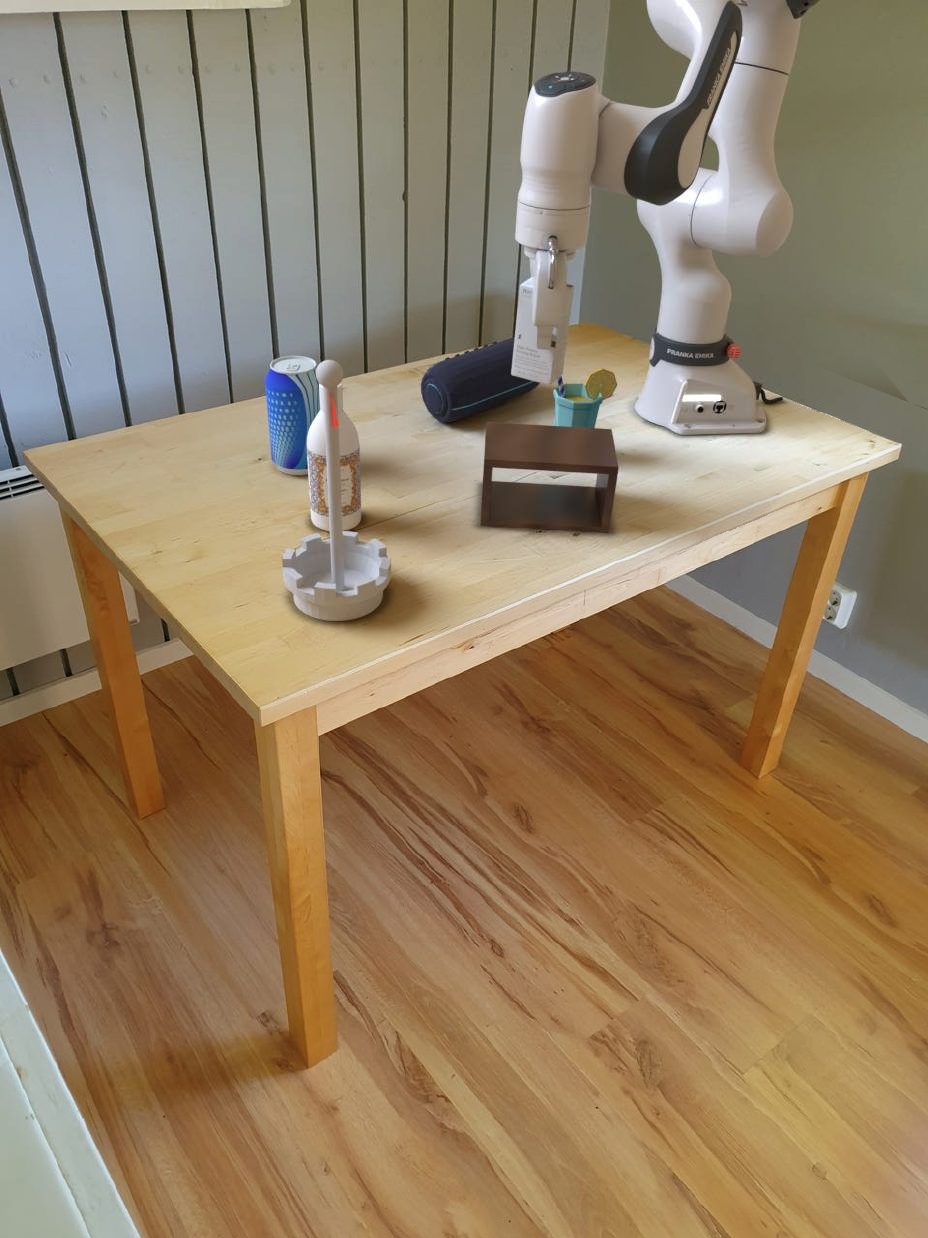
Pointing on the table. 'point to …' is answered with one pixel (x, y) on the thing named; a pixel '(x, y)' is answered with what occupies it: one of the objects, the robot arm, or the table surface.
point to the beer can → (291, 410)
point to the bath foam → (347, 468)
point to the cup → (583, 399)
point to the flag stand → (335, 541)
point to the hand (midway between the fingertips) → (542, 337)
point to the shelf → (549, 501)
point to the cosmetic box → (526, 354)
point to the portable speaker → (473, 382)
